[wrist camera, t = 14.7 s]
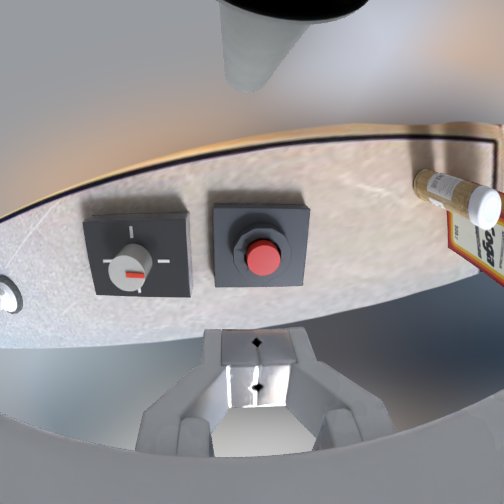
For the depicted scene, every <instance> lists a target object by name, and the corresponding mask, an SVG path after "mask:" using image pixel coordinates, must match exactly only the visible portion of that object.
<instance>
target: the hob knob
mask: <svg viewBox="0 0 504 504" xmlns="http://www.w3.org/2000/svg"><path fill="white" fill-rule="evenodd" d="M151 268H152V258H151V255H150V253H149V252H148V251H147V250H146V249H145V248H144V247H143V246H141V245H138V244H128V245H125V246H124V247H123V248H122V249H121V250H120V251H119V252H118V253H117V255H116V256H115V257H114V258H113V259H112V261H111V262H110V264H109V268H108V272H109V276H110V279H111V281H112V282H113V283H114V284H115V285H116V286H117V287H118V288H120V289H122V290H124V291H135V290H138V289H139V288H141V287H142V285H143V284H144V282H145V280H146V278H147V276H148V274H149V272H150V270H151Z"/></svg>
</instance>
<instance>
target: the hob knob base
mask: <svg viewBox="0 0 504 504" xmlns="http://www.w3.org/2000/svg"><path fill="white" fill-rule="evenodd" d="M83 229H84V235H85V241H86V247H87V253H88V258H89V263H90V268H91V273H92V277H93V282H94V286H95V291H96V295H111V296H139V297H191V294H192V289H193V276H192V261H191V244H190V223H189V212H167V213H133V214H108V215H92V216H91V217H89V218H88V219H86V220H85V221H84V222H83ZM128 244H138V245H141V246H143V247H144V248H145V249H146V250H147V251H148V252H149V253H150V255H151V258H152V268H151V270H150V272H149V274H148V276H147V278H146V280H145V282H144V284H143V285H142V287H141V288H139V289H138V290H135V291H124V290H122V289H120V288H118V287H117V286H116V285H115V284H114V283H113V282H112V281H111V279H110V276H109V272H108V268H109V264H110V262H111V261H112V259H113V258H114V257H115V256H116V255H117V253H118V252H119V251H120V250H121V249H122V248H123V247H124V246H125V245H128Z"/></svg>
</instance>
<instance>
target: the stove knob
mask: <svg viewBox="0 0 504 504" xmlns="http://www.w3.org/2000/svg"><path fill="white" fill-rule="evenodd" d="M22 306H23V300H22V296H21V294H20V292H19V290H18V288H17V286H16V285H15V284H14V283H13V282H12V281H11V280H10V279H9V278H7V277H5V276H0V310H1V309H4V310H5V311H7V312H10V313H12V314H14V313H18V312H19V311H21V309H22Z"/></svg>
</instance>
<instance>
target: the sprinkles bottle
mask: <svg viewBox="0 0 504 504" xmlns="http://www.w3.org/2000/svg"><path fill="white" fill-rule="evenodd" d="M414 191H415V193H416V195H417V196H418V197H419V198H420V199H422V200H426V201H429V202H431V203H433V204H434V205H437V206H439V207H441V208H443V209H446V210H448V211H450V212H452V213H455V214H458V215H460V216H462V217H464V218H466V219H468V220H470V221H471V222H472V223H473V224H474V225H476V226H478V227H480V228H482V229H485V230H487V229H490V228H492V227H493V226H494V225H495V224H496V222H497V221H498V219H499V216H500V213H501V199H500V196H499V194H498V192H497V191H496V190H494V189H492V188H490V187H487V186H480V185H476V184H473V183H471V182H468V181H466V180H463V179H460V178H457V177H454V176H450V175H447V174H443V173H438V172H434V171H432V170H430V169H423V170H421V171H420V172H419V173H418V174H417V175H416V177H415V180H414Z"/></svg>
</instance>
